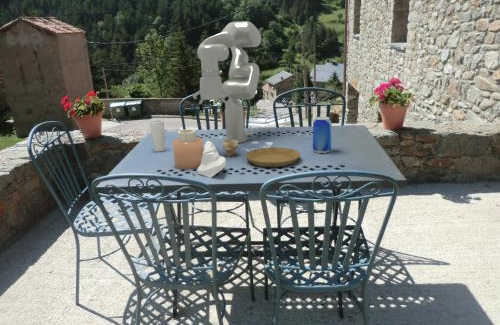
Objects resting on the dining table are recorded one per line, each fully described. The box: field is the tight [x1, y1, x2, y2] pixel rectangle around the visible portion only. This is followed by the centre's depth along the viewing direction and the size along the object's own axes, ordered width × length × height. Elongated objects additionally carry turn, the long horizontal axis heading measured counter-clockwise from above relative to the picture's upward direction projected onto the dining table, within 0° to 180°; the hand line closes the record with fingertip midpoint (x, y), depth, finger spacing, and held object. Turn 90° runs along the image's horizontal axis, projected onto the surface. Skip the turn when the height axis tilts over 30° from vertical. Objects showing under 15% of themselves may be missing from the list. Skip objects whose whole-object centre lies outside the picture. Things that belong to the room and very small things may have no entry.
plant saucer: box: [245, 146, 301, 168], centre depth 188 cm, size 24×24×3 cm
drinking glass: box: [149, 119, 166, 153], centre depth 210 cm, size 7×7×15 cm
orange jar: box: [171, 128, 204, 170], centre depth 186 cm, size 13×13×15 cm
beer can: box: [312, 116, 333, 154], centre depth 197 cm, size 8×8×16 cm
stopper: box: [222, 140, 239, 157], centre depth 198 cm, size 7×7×6 cm
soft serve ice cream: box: [196, 140, 227, 179], centre depth 174 cm, size 12×15×14 cm
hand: (212, 111), depth 195 cm, fingers open, 9 cm apart
